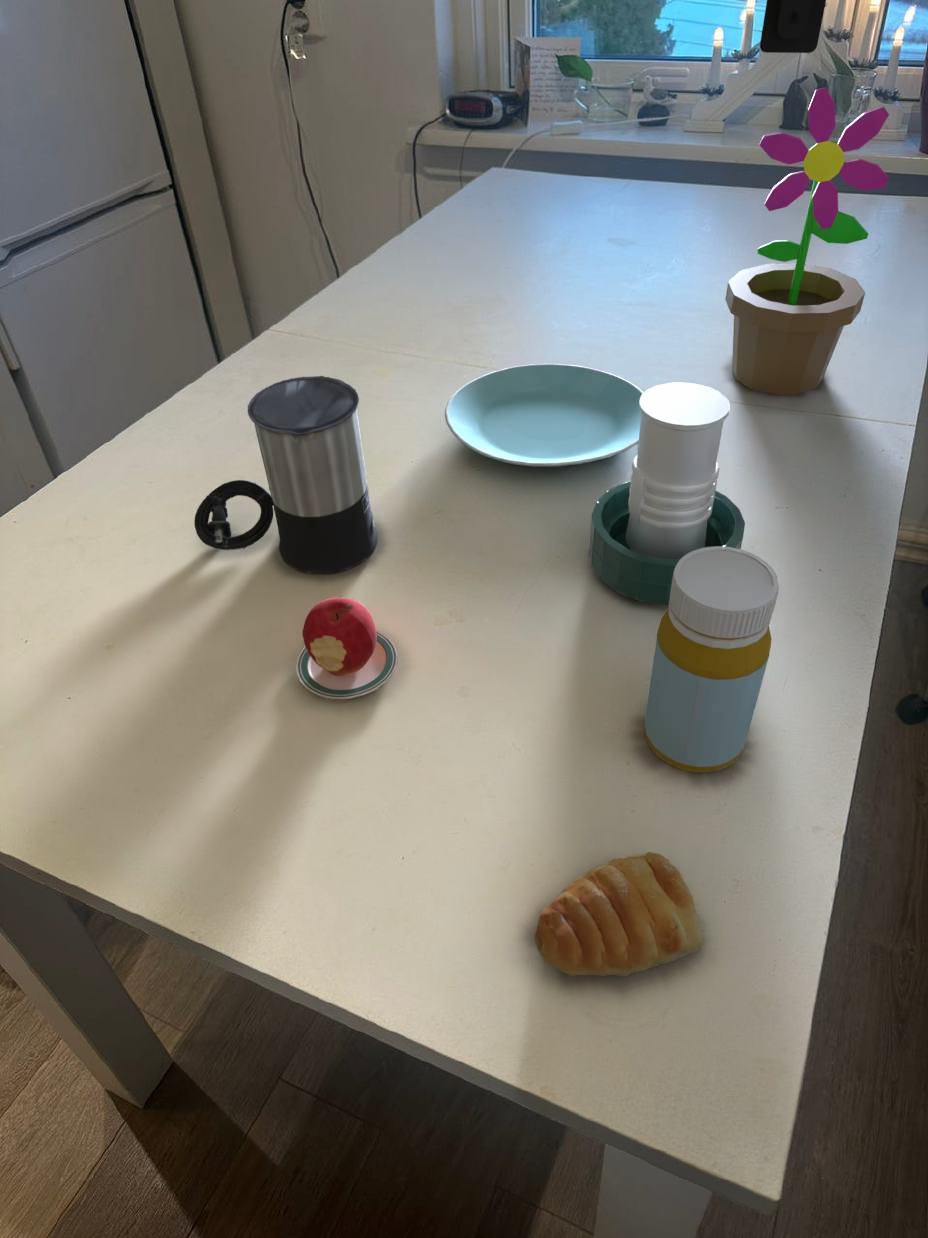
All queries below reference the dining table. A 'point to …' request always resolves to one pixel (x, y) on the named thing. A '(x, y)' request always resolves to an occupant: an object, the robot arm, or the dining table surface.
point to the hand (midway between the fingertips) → (790, 35)
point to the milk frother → (303, 479)
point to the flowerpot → (803, 261)
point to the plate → (546, 415)
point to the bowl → (644, 572)
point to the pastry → (620, 919)
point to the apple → (343, 651)
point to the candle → (675, 469)
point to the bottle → (710, 658)
